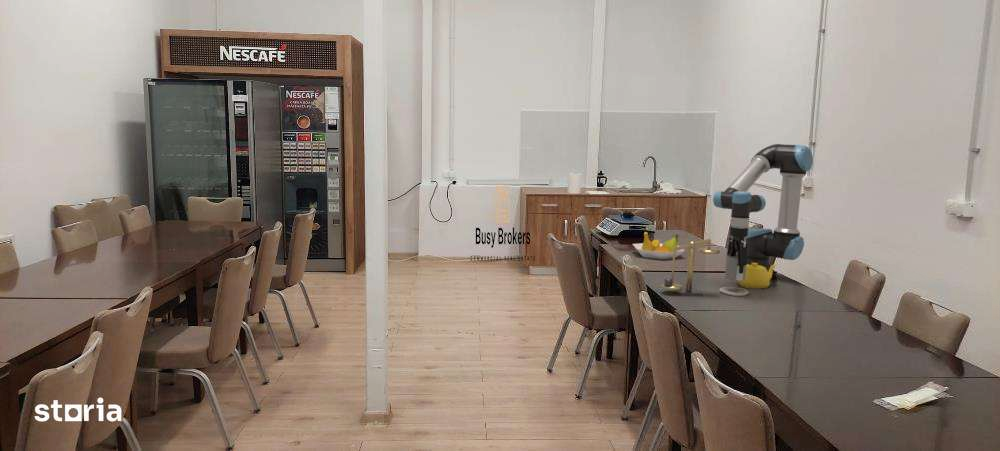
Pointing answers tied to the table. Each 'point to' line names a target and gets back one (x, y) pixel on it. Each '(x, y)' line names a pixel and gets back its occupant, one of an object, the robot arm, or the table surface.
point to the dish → (733, 291)
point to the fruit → (658, 248)
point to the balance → (688, 269)
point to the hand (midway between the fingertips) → (734, 277)
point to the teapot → (757, 276)
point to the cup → (732, 268)
